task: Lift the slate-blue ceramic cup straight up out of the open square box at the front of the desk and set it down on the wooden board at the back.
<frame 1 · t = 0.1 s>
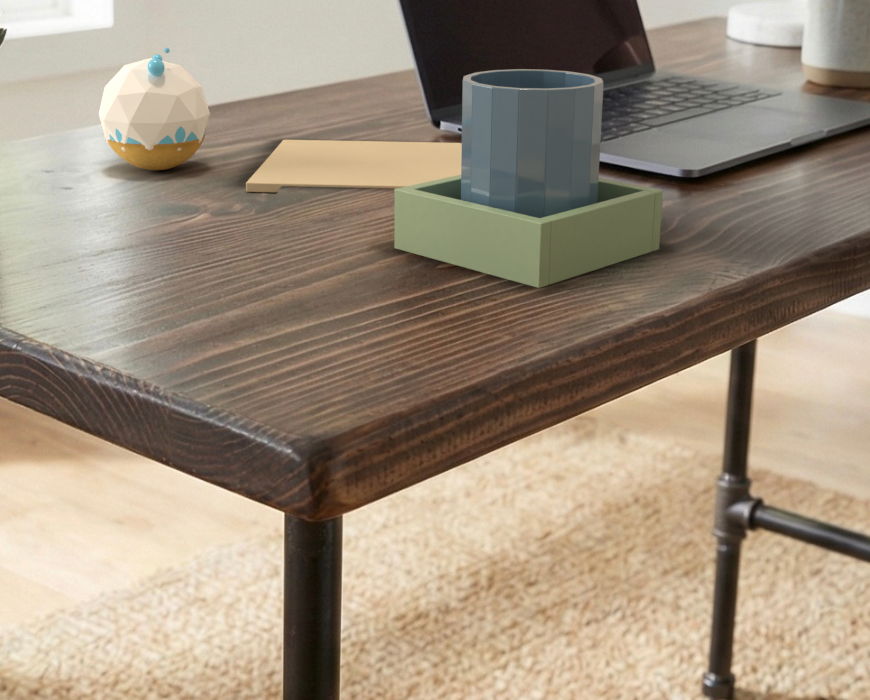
wooden board: (371, 170, 86), on the table
open square box: (526, 256, 66), on the table
ornament: (158, 172, 86), on the table
cup: (529, 169, 65), in the open square box
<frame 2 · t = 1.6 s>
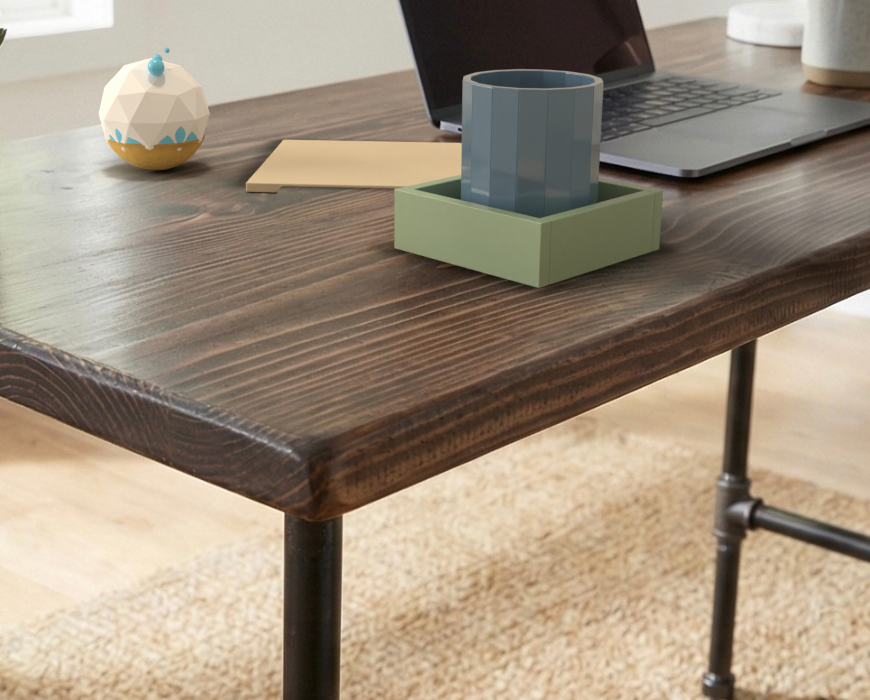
nothing on the table moved.
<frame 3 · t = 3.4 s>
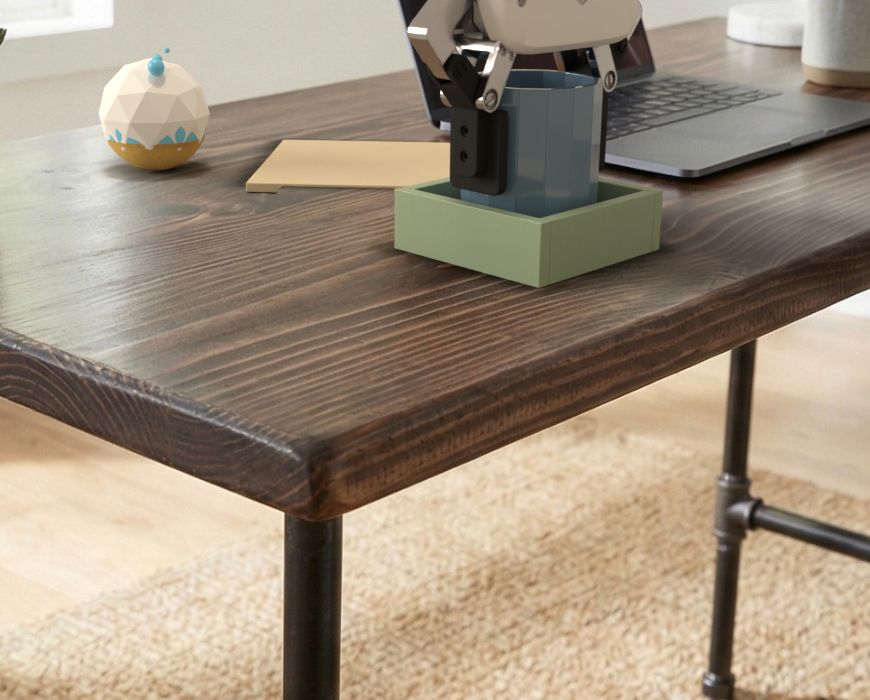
hand: (529, 176, 65), 4 cm above the table, tool pointing down, fingers closed on cup, 6 cm apart
cup: (529, 169, 65), in the open square box, touching gripper
everything else where it was.
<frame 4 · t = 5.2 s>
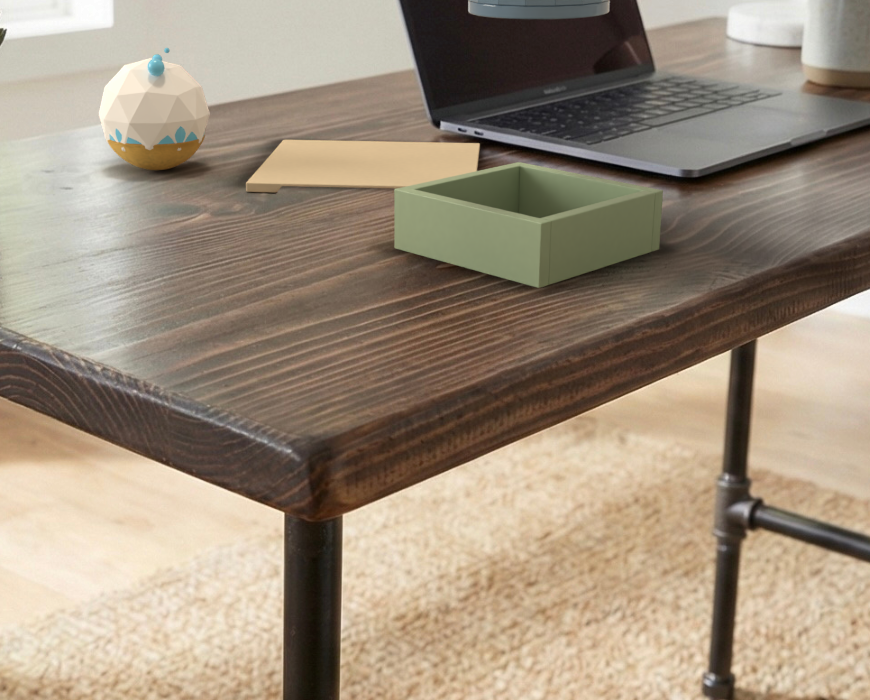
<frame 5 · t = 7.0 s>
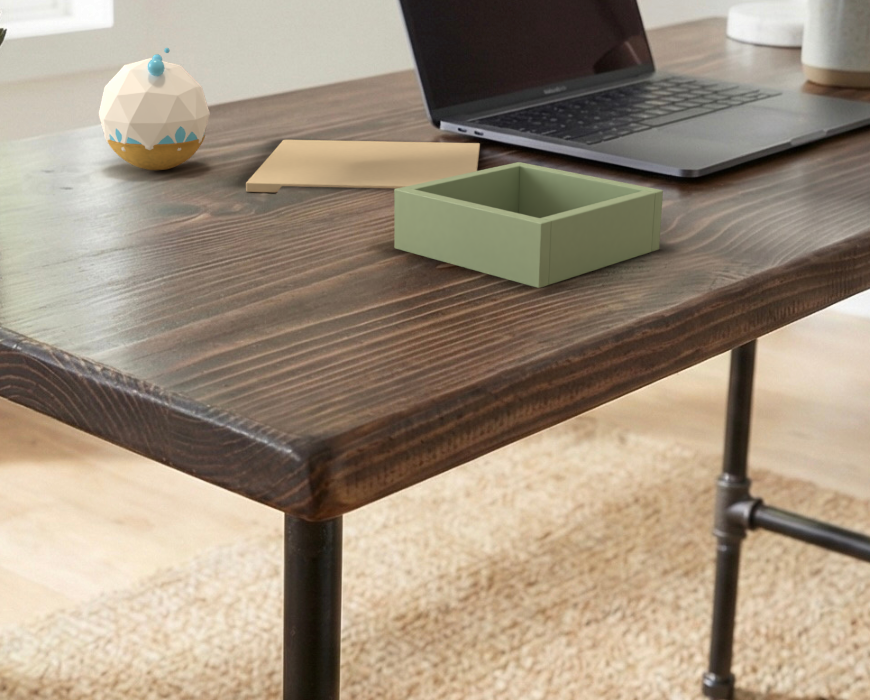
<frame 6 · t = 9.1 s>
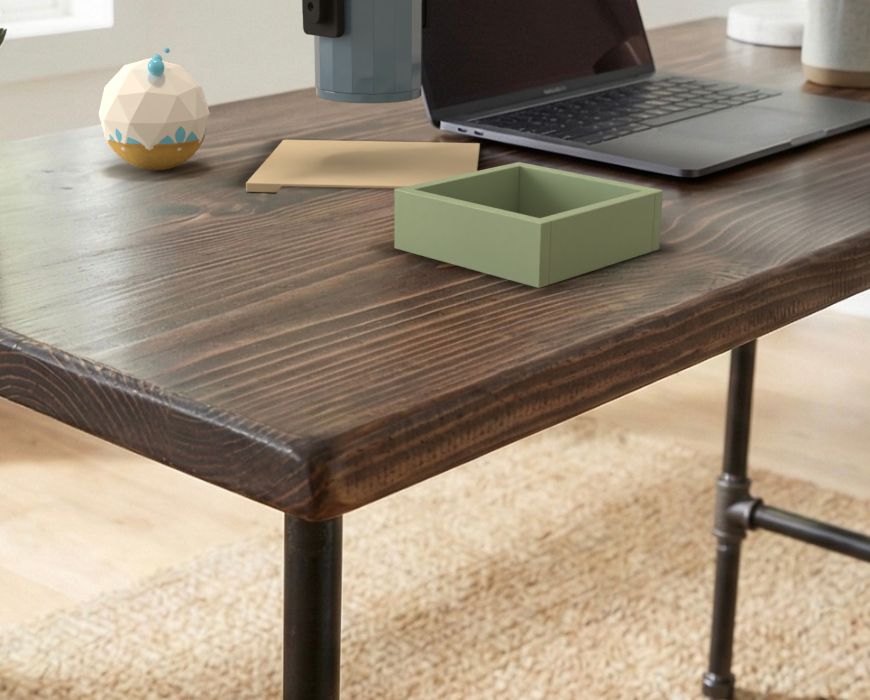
hand: (368, 29, 83), 9 cm above the table, tool pointing down, fingers closed on cup, 6 cm apart
cup: (368, 23, 83), point 9 cm above the table, touching gripper
everything else where it was.
when the fingers open (5 cm above the table, at t = 10.7 s): cup stays where it is, resting on wooden board.
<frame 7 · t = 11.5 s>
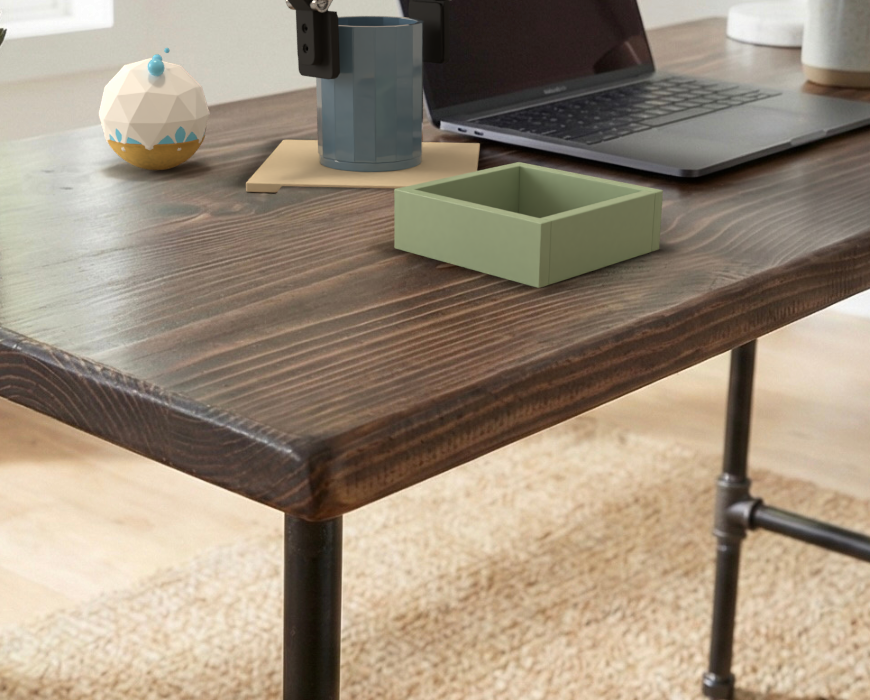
hand: (376, 68, 83), 7 cm above the table, tool pointing down, fingers open, 9 cm apart
cup: (370, 92, 84), on the wooden board, point 5 cm above the table
everything else where it was.
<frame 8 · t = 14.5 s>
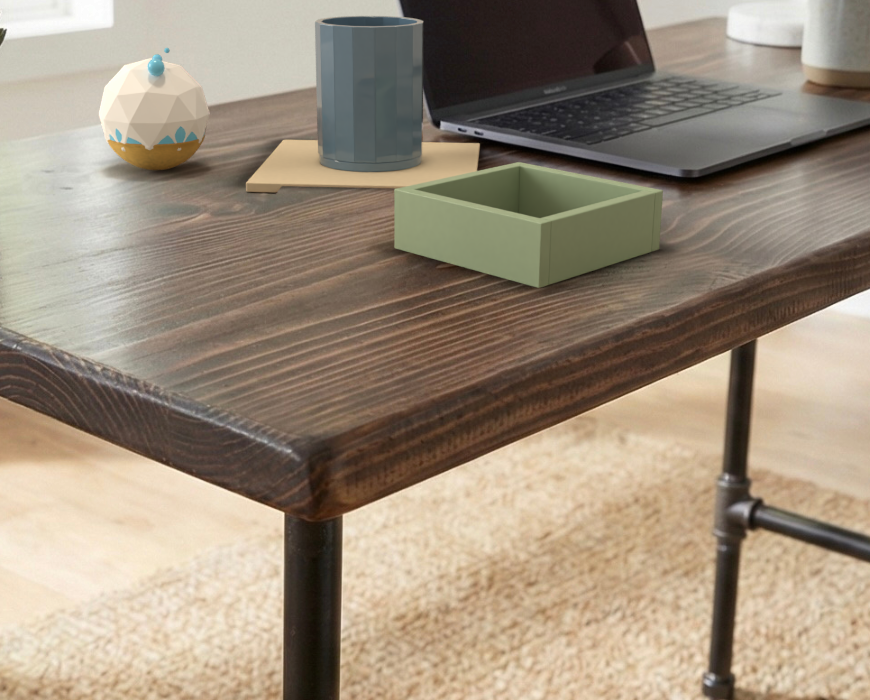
nothing on the table moved.
at the end: cup inside the target area on the wooden board (0.0 cm from its centre), point 5.1 cm above the wooden board's base; cup tilted 0°; the gripper is holding nothing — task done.
